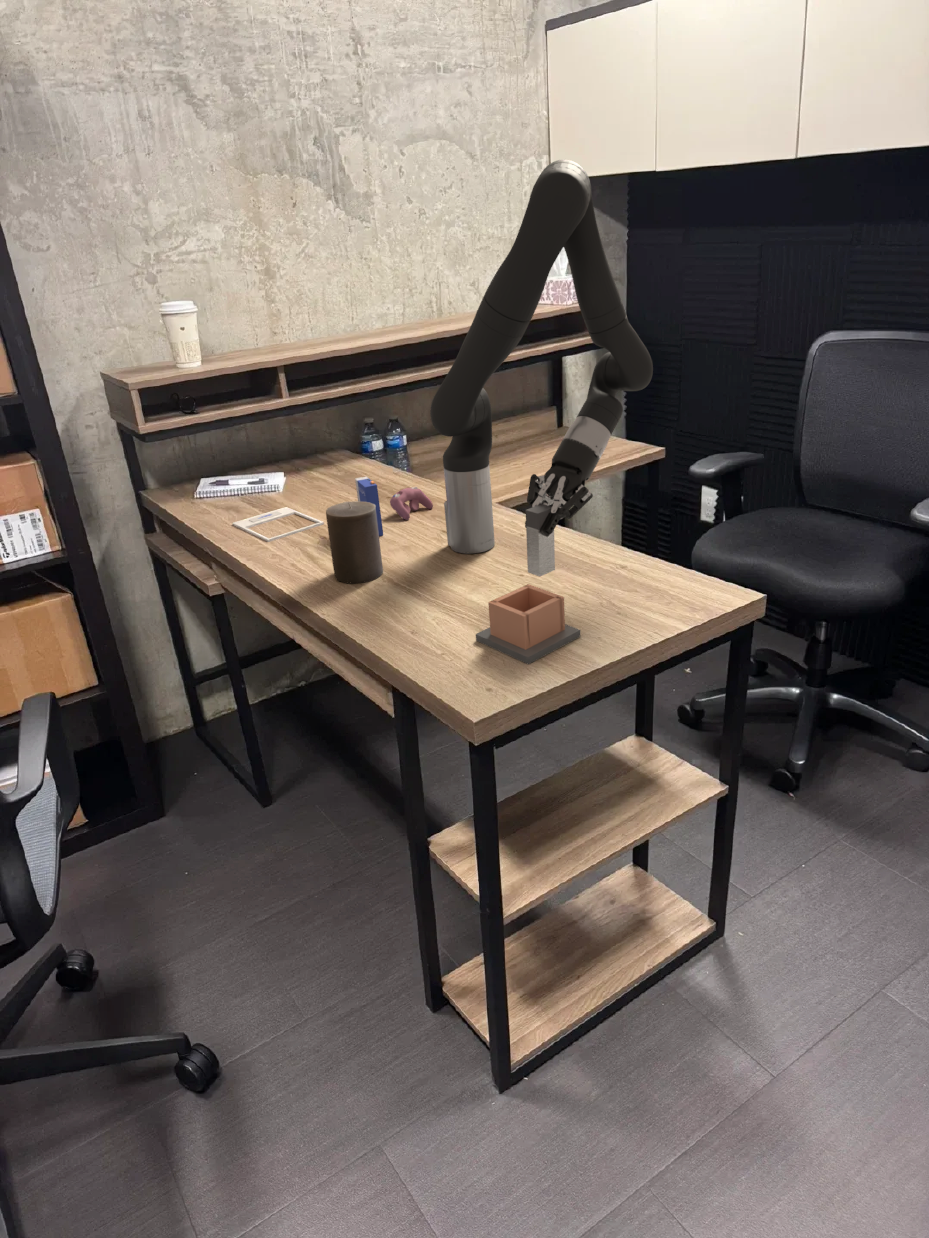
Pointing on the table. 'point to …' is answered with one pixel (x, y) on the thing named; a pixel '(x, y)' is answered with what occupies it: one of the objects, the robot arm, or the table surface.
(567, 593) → the table surface
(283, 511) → the photo frame
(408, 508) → the video game controller
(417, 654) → the table surface
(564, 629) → the box
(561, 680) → the table surface
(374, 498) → the walkman
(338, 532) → the pillar candle
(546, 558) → the grey block
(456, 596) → the table surface
